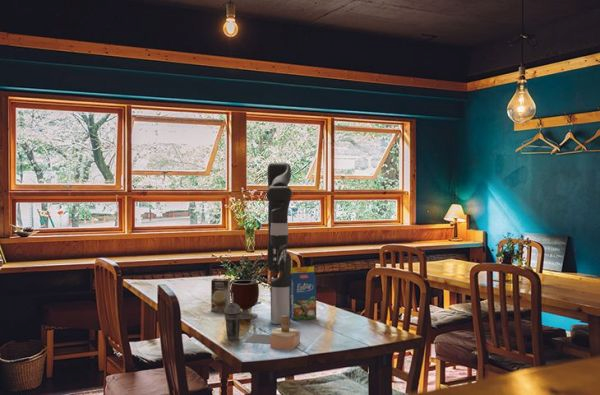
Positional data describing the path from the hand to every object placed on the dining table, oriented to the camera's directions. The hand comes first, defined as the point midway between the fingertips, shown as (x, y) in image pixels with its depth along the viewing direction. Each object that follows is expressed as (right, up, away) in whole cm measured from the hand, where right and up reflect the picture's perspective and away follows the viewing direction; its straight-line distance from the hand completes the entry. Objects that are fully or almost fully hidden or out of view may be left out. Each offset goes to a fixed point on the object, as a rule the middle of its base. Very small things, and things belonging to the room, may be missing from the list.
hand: (279, 272), depth 252 cm
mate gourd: (-18, -28, +42) cm, 54 cm away
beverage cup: (-19, -28, -3) cm, 34 cm away
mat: (-6, -28, -3) cm, 29 cm away
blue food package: (+10, -28, +38) cm, 48 cm away
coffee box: (-33, -27, +58) cm, 72 cm away
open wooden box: (+3, -28, -13) cm, 31 cm away
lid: (+3, -23, -13) cm, 27 cm away
